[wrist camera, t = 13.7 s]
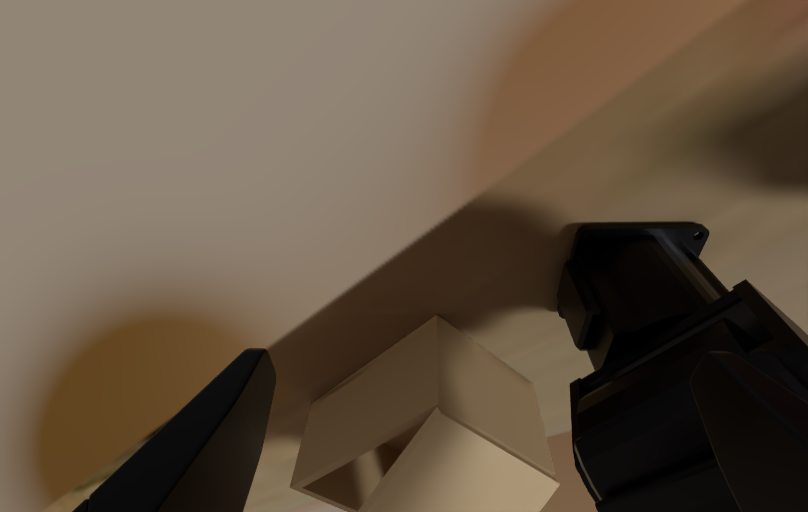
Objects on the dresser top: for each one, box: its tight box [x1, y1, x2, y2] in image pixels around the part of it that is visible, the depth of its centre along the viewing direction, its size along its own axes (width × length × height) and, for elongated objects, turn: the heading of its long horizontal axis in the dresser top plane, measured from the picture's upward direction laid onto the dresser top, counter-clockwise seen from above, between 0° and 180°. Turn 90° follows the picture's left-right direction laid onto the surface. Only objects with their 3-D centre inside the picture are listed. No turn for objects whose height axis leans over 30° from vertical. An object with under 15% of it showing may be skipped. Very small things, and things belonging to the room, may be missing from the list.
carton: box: [290, 315, 555, 512], centre depth 28 cm, size 14×10×6 cm
